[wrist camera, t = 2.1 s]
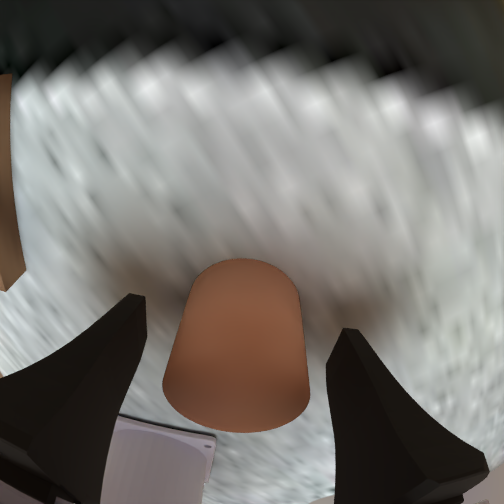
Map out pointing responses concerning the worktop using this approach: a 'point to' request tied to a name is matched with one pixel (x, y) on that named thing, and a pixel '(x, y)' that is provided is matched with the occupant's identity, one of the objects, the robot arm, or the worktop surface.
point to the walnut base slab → (8, 198)
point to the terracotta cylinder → (239, 350)
